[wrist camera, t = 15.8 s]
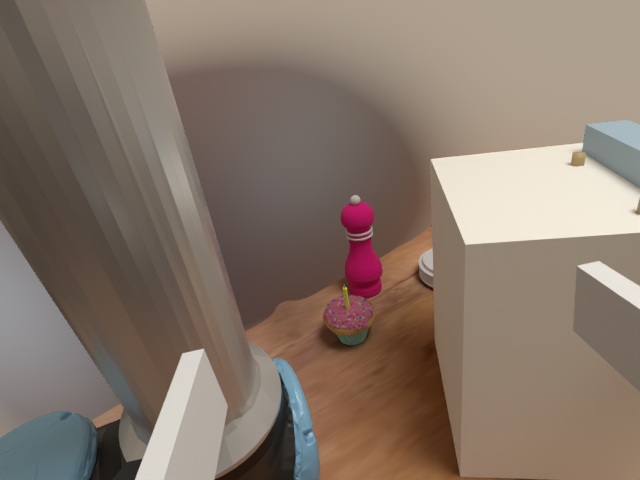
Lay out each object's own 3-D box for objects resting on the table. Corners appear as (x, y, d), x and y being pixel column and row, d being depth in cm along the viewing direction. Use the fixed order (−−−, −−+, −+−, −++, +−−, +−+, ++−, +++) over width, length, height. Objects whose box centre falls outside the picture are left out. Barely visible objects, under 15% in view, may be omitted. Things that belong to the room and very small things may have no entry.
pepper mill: (373, 274, 83) (364, 184, 74) (390, 292, 77) (382, 196, 67) (342, 285, 81) (328, 194, 72) (356, 304, 75) (343, 207, 66)
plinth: (706, 484, 40) (849, 202, 26) (460, 476, 45) (465, 230, 30) (599, 335, 59) (648, 125, 45) (434, 340, 64) (430, 149, 49)
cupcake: (381, 349, 64) (374, 288, 58) (328, 357, 64) (317, 297, 58) (372, 316, 71) (365, 259, 66) (325, 323, 72) (315, 266, 66)
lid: (497, 270, 78) (499, 248, 76) (468, 304, 71) (468, 281, 68) (438, 254, 86) (438, 234, 84) (406, 283, 79) (405, 261, 77)
